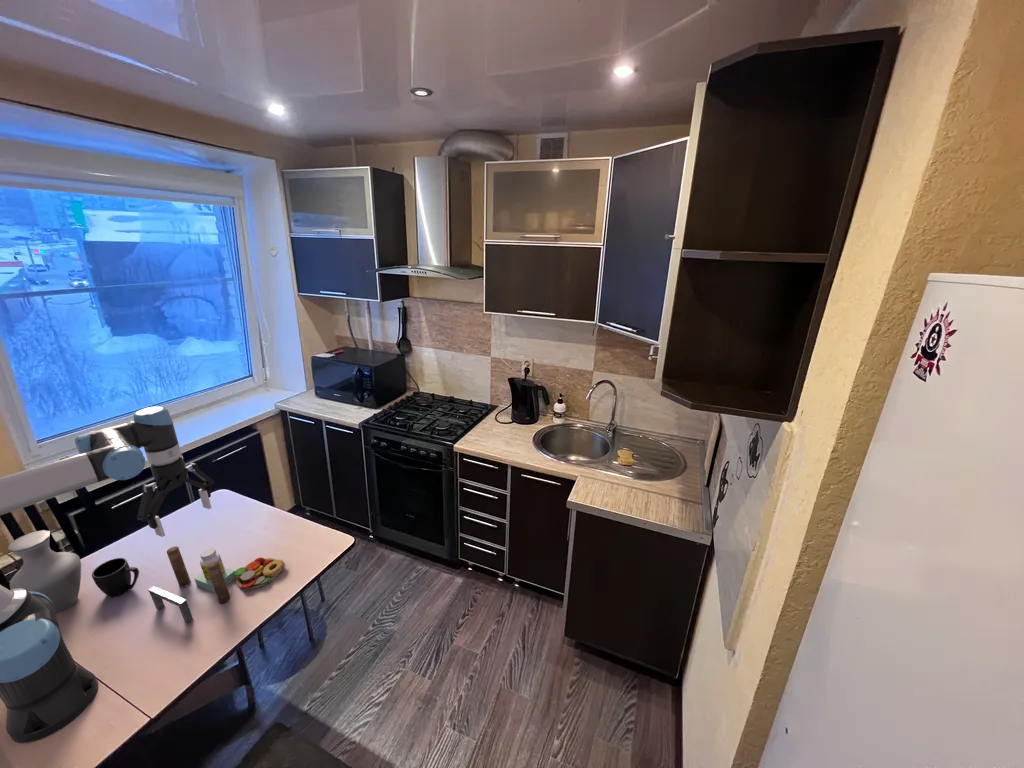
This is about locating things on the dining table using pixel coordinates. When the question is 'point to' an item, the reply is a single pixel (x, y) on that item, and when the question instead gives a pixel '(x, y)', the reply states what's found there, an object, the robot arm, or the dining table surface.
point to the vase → (47, 570)
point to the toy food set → (258, 572)
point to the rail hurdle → (160, 594)
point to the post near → (218, 582)
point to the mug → (115, 577)
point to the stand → (208, 584)
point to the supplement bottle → (210, 561)
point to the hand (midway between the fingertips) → (185, 520)
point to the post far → (178, 566)
